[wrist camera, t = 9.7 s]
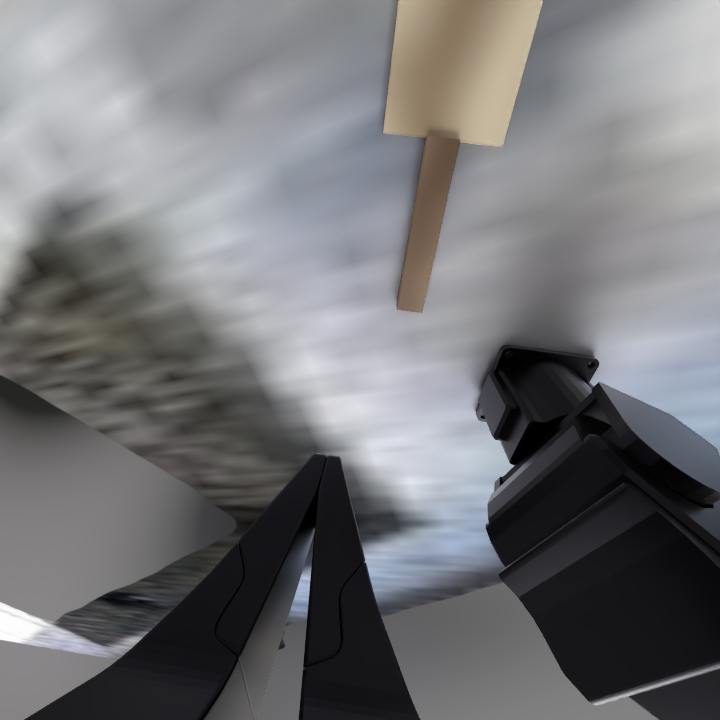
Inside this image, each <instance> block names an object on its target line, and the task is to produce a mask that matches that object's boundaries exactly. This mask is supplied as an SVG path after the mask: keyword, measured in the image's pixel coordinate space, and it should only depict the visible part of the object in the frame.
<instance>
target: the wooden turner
mask: <svg viewBox="0 0 720 720" xmlns="http://www.w3.org/2000/svg"><path fill="white" fill-rule="evenodd" d="M542 3H543V0H399V2H398V10H397V19H396V27H395V36H394V44H393V52H392V61H391V69H390V78H389V86H388V95H387V103H386V112H385V120H384V129H383V133H384V134H392V135H400V136H409V137H417V138H425V145H424V150H423V156H422V162H421V168H420V173H419V179H418V185H417V191H416V196H415V202H414V208H413V213H412V219H411V225H410V231H409V236H408V242H407V248H406V253H405V259H404V265H403V271H402V276H401V282H400V288H399V294H398V299H397V310H405V311H412V312H420V313H422V311H423V306H424V302H425V297H426V292H427V288H428V283H429V279H430V274H431V270H432V265H433V261H434V256H435V252H436V247H437V243H438V238H439V234H440V229H441V224H442V220H443V215H444V211H445V206H446V202H447V197H448V193H449V188H450V184H451V179H452V175H453V170H454V165H455V161H456V156H457V152H458V147H459V143H467V144H475V145H483V146H492V147H501V146H503V143H504V140H505V136H506V132H507V129H508V125H509V122H510V118H511V115H512V111H513V107H514V104H515V100H516V97H517V93H518V89H519V86H520V82H521V79H522V75H523V72H524V68H525V64H526V61H527V57H528V54H529V50H530V46H531V43H532V39H533V36H534V32H535V28H536V25H537V21H538V18H539V14H540V11H541V7H542Z"/></svg>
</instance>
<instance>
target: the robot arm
mask: <svg viewBox="0 0 720 720" xmlns="http://www.w3.org/2000/svg"><path fill="white" fill-rule="evenodd" d="M508 351H511V353H510V354H508V355H505V353H506V352H508ZM590 362H592V363H591V364H590V365H587V364H588V363H590ZM598 366H599V361H598V360H597V359H596V358H594V357H592V356H587V355H579V354H572V353H565V352H557V351H550V350H543V349H535V348H528V347H520V346H513V345H506V346H503V347H502V348H501V350H500V352H499V354H498V357H497V359H496V362H495V365H494V367H493V370H492V371H491V372H490V373H488V375H487V378H486V380H485V383H484V386H483V388H482V391H481V394H480V396H479V399H478V401H479V406H478V409H477V411H476V415H477V418H478V420H480V421H484V422H487V424H488V426H489V429H490V431H491V434H492V436H493V437H494V439H495V440H500V441H501V444H502V446H503V448H504V451H505V453H506V455H507V458H508V460H509V462H510V464H512V465H515V466H514V467H513V468H512V469H511V470H510V471H509V472H508V473H507V474H506V475H505V476H503V477H500V478H499V479H498V480H497V481H496V482H495V487H494V493H493V494H492V495H491V497H490V500H489V502H488V520H489V522H488V523H487V524H486V530H487V533H488V536H489V538H490V541H491V544H492V546H493V548H494V550H495V552H496V554H497V556H498V557H499V559H500V561H501V562H502V564H503V565H504V567H505V568H504V569H503V570H501V571H500V572H499V577H500V579H501V580H502V581H503V582H504V583H505V584H506V585H507V586H508V587H509V588H510V589H511V590H512V591H513V592H514V593H515V595H516V596H517V597H518V598H519V599H520V601H521V602H522V603H523V605H524V606H525V608H526V609H527V610H528V612H529V613H530V614H531V616H532V617H533V618H534V620H535V622H536V624H537V626H538V627H539V629H540V631H541V632H542V634H543V636H544V638H545V639H546V642H547V643H548V645H549V647H550V649H551V651H552V653H553V655H554V657H555V658H556V660H557V662H558V664H559V666H560V668H561V670H562V671H563V673H564V674H565V676H566V677H567V678H568V679H569V680H570V681H571V682H572V684H573V685H574V686H575V687H576V688H577V689H578V690H579V691H580V692H581V693H582V695H584V697H585V698H586V699H587V700H588V701H589V702H591V703H592V704H594V705H601V704H604V703H608V702H611V701H615V700H618V699H621V698H624V697H628V698H630V699H631V700H632V701H634V702H635V703H636V704H638V705H639V706H640V707H642V708H643V709H644V710H646V711H647V712H648V713H650V714H651V715H652V716H654V717H655V718H656V719H657V720H720V456H719V453H718V450H717V449H716V448H715V447H714V446H713V445H712V444H711V443H709V442H708V441H706V440H705V439H704V438H702V437H701V436H700V435H698V434H697V433H695V432H694V431H693V430H691V429H690V428H689V427H687V426H686V425H684V424H683V423H682V422H680V421H679V420H678V419H676V418H675V417H673V416H672V415H670V414H668V413H666V412H664V411H662V410H659V409H657V408H655V407H653V406H651V405H648V404H646V403H644V402H642V401H640V400H638V399H635V398H633V397H631V396H629V395H627V394H625V393H622V392H620V391H618V390H616V389H614V388H611V387H609V386H607V385H605V384H603V383H600V382H599V383H598V384H596V385H595V386H593V385H592V384H591V383H590V380H591V378H592V376H593V375H594V373H595V371H596V370H597V368H598ZM482 414H484V415H482ZM314 531H315V534H314ZM313 535H314V546H313V558H312V570H311V581H310V593H309V605H308V617H307V629H306V641H305V653H304V665H303V676H302V689H301V699H300V710H299V720H420V718H419V715H418V714H417V711H416V709H415V706H414V704H413V702H412V699H411V697H410V694H409V692H408V689H407V686H406V684H405V682H404V678H403V676H402V673H401V671H400V667H399V665H398V662H397V659H396V656H395V654H394V651H393V648H392V645H391V643H390V640H389V637H388V635H387V632H386V629H385V626H384V623H383V620H382V618H381V614H380V611H379V608H378V605H377V602H376V599H375V596H374V592H373V588H372V585H371V581H370V577H369V573H368V569H367V565H366V563H365V557H364V553H363V549H362V545H361V540H360V536H359V532H358V528H357V524H356V519H355V515H354V511H353V507H352V503H351V499H350V494H349V490H348V486H347V482H346V478H345V474H344V469H343V465H342V461H341V458H340V457H339V456H334V455H328V456H327V455H326V454H320V453H314V454H313V455H312V456H311V457H310V458H309V460H308V461H307V462H306V463H305V464H304V465H303V466H302V468H301V469H300V470H299V471H298V472H297V473H296V475H295V476H294V477H293V478H292V479H291V480H290V482H289V483H288V484H287V485H286V486H285V487H284V488H283V490H282V491H281V492H280V493H279V494H278V495H277V497H276V498H275V499H274V500H273V501H272V502H271V504H270V505H269V506H268V507H267V508H266V509H265V510H264V512H263V513H262V514H261V515H260V516H259V517H258V519H257V520H256V521H255V522H254V523H253V524H252V526H251V527H250V528H249V529H248V530H247V531H246V532H245V534H244V535H243V536H242V537H241V538H240V539H239V541H238V542H239V543H236V544H235V545H234V546H233V547H232V548H231V550H230V551H229V552H228V553H227V554H226V555H225V557H224V558H223V559H222V560H221V561H220V562H219V563H218V564H217V565H216V566H215V568H214V569H213V570H212V571H211V572H210V573H209V574H208V575H207V576H206V577H205V578H204V579H203V580H202V581H201V582H200V583H199V584H198V585H197V586H196V587H195V588H194V589H193V590H192V591H191V592H190V593H189V594H188V595H187V596H186V597H185V598H184V599H183V600H182V601H181V602H180V603H179V604H178V605H177V606H175V607H174V608H173V609H172V610H171V611H170V612H169V613H168V614H167V615H166V616H165V617H164V618H163V619H162V620H161V621H160V622H159V623H158V624H157V625H156V626H155V627H154V628H153V629H152V630H150V631H149V632H148V633H147V634H146V635H145V636H144V637H143V638H142V639H141V640H140V641H139V642H138V643H137V644H136V645H135V646H134V647H133V648H131V649H130V650H129V651H128V652H127V653H126V654H125V655H123V656H122V657H121V658H120V659H118V660H117V661H116V662H115V663H113V664H112V665H111V666H109V667H108V668H107V669H105V670H104V671H102V672H101V673H99V674H98V675H96V676H95V677H93V678H91V679H90V680H88V681H87V682H85V683H84V684H82V685H80V686H78V687H77V688H75V689H73V690H72V691H70V692H68V693H67V694H65V695H64V696H62V697H60V698H59V699H57V700H55V701H54V702H52V703H50V704H49V705H47V706H46V707H44V708H42V709H41V710H39V711H37V712H36V713H34V714H33V715H31V716H29V717H28V718H26V719H24V720H256V719H257V715H258V712H259V709H260V706H261V702H262V699H263V696H264V693H265V689H266V686H267V683H268V680H269V677H270V673H271V670H272V667H273V664H274V661H275V657H276V654H277V651H278V648H279V645H280V641H281V638H282V635H283V632H284V628H285V625H286V622H287V619H288V616H289V612H290V609H291V606H292V603H293V599H294V596H295V593H296V590H297V587H298V583H299V580H300V577H301V574H302V571H303V567H304V564H305V561H306V558H307V554H308V551H309V548H310V545H311V542H312V538H313Z"/></svg>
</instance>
